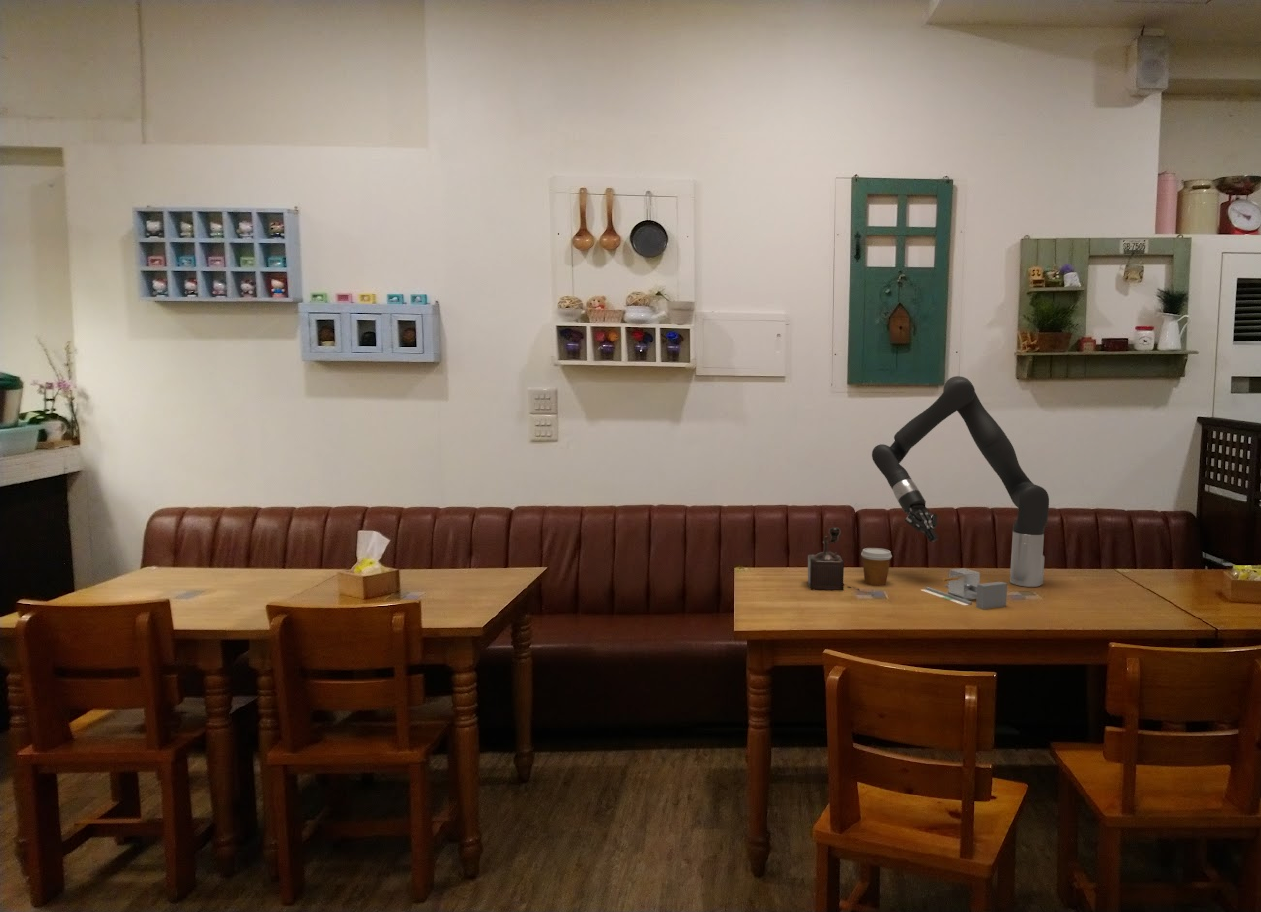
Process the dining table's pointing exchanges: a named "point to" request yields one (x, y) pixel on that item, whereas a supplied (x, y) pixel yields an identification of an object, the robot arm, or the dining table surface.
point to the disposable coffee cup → (876, 565)
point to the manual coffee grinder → (826, 567)
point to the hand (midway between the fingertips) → (934, 540)
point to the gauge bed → (979, 595)
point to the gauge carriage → (963, 583)
